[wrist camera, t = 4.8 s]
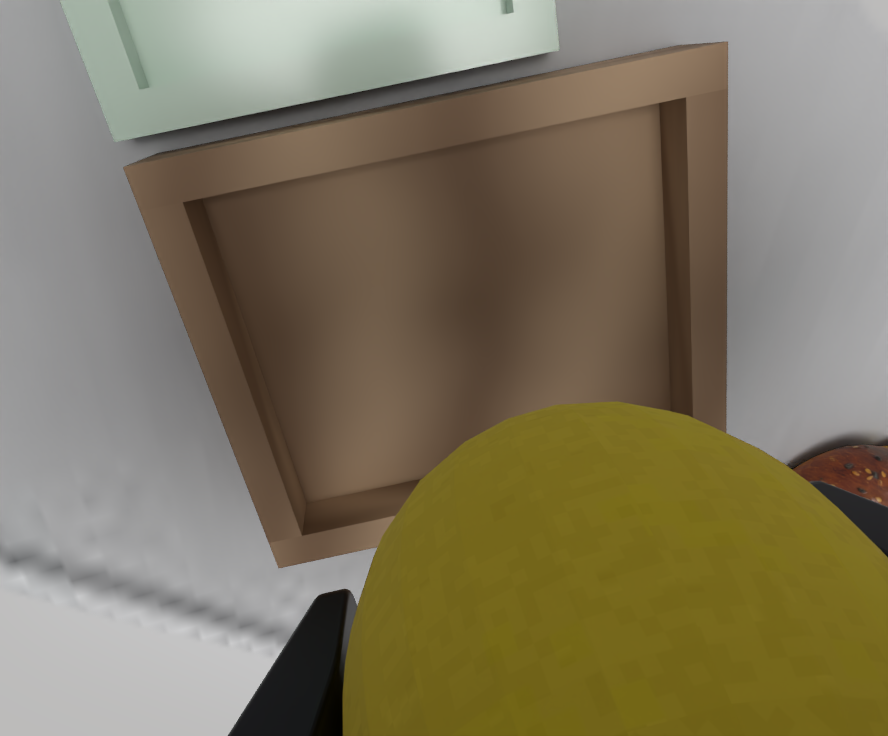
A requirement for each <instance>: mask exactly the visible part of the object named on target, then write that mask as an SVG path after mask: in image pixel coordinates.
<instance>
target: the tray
mask: <svg viewBox="0 0 888 736" xmlns="http://www.w3.org/2000/svg"><path fill="white" fill-rule="evenodd" d="M727 148H728V42H716V43H703V44H689V45H678V46H673V47H668V48H663V49H658V50H654V51H649V52H644V53H639V54H634V55H630V56H625V57H620V58H615V59H610V60H605V61H601V62H596V63H591V64H586V65H581V66H577V67H572V68H567V69H562V70H557V71H552V72H548V73H543V74H538V75H533V76H528V77H523V78H519V79H514V80H509V81H504V82H499V83H495V84H490V85H485V86H480V87H475V88H470V89H466V90H461V91H456V92H451V93H446V94H442V95H437V96H432V97H427V98H422V99H417V100H413V101H408V102H403V103H398V104H393V105H389V106H384V107H379V108H374V109H369V110H364V111H360V112H355V113H350V114H345V115H340V116H336V117H331V118H326V119H321V120H316V121H311V122H307V123H302V124H297V125H292V126H287V127H282V128H278V129H273V130H268V131H263V132H258V133H254V134H249V135H244V136H239V137H234V138H229V139H225V140H220V141H215V142H210V143H205V144H201V145H196V146H191V147H186V148H181V149H176V150H172V151H167V152H162V153H157V154H155V155H152V156H150V157H147V158H145V159H142V160H140V161H137V162H135V163H132V164H130V165H127V166H125V167H123V168H124V171H125V173H126V176H127V179H128V181H129V184H130V186H131V189H132V191H133V194H134V197H135V199H136V202H137V204H138V207H139V210H140V212H141V215H142V217H143V220H144V222H145V225H146V228H147V230H148V233H149V235H150V238H151V240H152V243H153V246H154V248H155V251H156V253H157V256H158V258H159V261H160V264H161V266H162V269H163V271H164V274H165V276H166V279H167V282H168V284H169V287H170V289H171V292H172V295H173V297H174V300H175V302H176V305H177V307H178V310H179V313H180V315H181V318H182V320H183V323H184V325H185V328H186V331H187V333H188V336H189V338H190V341H191V343H192V346H193V349H194V351H195V354H196V356H197V359H198V362H199V364H200V367H201V369H202V372H203V374H204V377H205V380H206V382H207V385H208V387H209V390H210V392H211V395H212V398H213V400H214V403H215V405H216V408H217V410H218V413H219V416H220V418H221V421H222V423H223V426H224V429H225V431H226V434H227V436H228V439H229V441H230V444H231V447H232V449H233V452H234V454H235V457H236V459H237V462H238V465H239V467H240V470H241V472H242V475H243V477H244V480H245V483H246V485H247V488H248V490H249V493H250V495H251V498H252V501H253V503H254V506H255V508H256V511H257V514H258V516H259V519H260V521H261V524H262V526H263V529H264V532H265V534H266V537H267V539H268V542H269V544H270V547H271V550H272V552H273V555H274V557H275V560H276V562H277V565H278V568H283V567H287V566H292V565H296V564H301V563H306V562H310V561H315V560H319V559H324V558H329V557H333V556H338V555H343V554H347V553H352V552H356V551H361V550H366V549H370V548H375V547H378V545H379V543H380V541H381V538H382V536H383V535H384V533H385V532H386V530H387V528H388V527H389V525H390V524H391V522H392V521H393V519H394V518H395V516H396V515H397V514H398V512H399V511H400V509H401V508H402V506H403V505H404V503H405V502H406V500H407V499H408V497H409V496H410V495H411V493H412V492H413V490H414V489H415V487H416V486H417V484H418V483H419V481H420V480H421V479H422V478H424V477H425V476H426V475H427V474H428V473H429V472H431V471H432V470H433V469H434V468H435V467H436V466H437V465H439V464H440V463H441V462H442V461H443V460H444V459H445V458H447V457H448V456H449V455H450V454H451V453H452V452H454V451H455V450H456V449H457V448H458V447H459V446H460V445H462V444H463V443H464V442H465V441H467V440H469V439H471V438H473V437H475V436H476V435H478V434H480V433H482V432H484V431H486V430H488V429H489V428H491V427H493V426H495V425H497V424H499V423H501V422H502V421H504V420H506V419H508V418H511V417H515V416H518V415H522V414H525V413H529V412H532V411H536V410H539V409H543V408H546V407H550V406H553V405H559V404H577V403H596V402H616V401H618V402H623V403H629V404H634V405H640V406H645V407H651V408H656V409H662V410H667V411H671V412H675V413H680V414H684V415H688V416H690V417H692V418H694V419H697V420H699V421H701V422H703V423H706V424H708V425H710V426H712V427H714V428H716V429H718V430H720V431H723V432H725V433H726V374H727Z"/></svg>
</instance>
